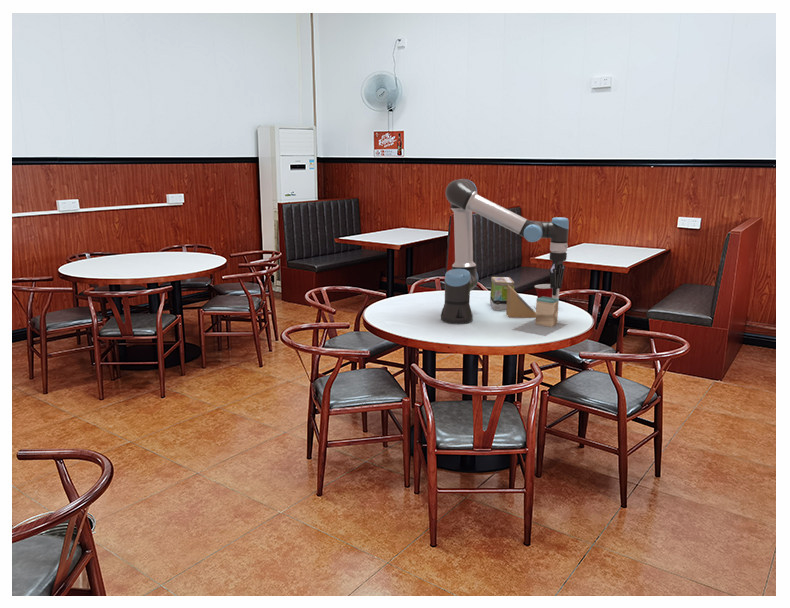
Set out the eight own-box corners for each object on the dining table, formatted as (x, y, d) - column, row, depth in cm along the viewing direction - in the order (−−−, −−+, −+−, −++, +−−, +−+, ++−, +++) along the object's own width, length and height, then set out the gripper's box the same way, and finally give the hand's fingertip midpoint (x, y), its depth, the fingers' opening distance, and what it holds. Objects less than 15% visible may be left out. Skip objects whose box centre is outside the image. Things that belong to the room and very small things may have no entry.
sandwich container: (541, 318, 296) (543, 288, 292) (509, 318, 296) (510, 287, 292) (537, 314, 304) (539, 284, 300) (506, 314, 304) (507, 284, 301)
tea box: (513, 311, 310) (514, 282, 307) (493, 310, 310) (494, 281, 307) (508, 304, 325) (510, 276, 321) (489, 303, 325) (490, 276, 321)
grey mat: (545, 336, 265) (545, 335, 265) (511, 330, 275) (511, 329, 275) (568, 325, 284) (568, 324, 284) (535, 319, 293) (535, 318, 293)
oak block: (551, 327, 279) (553, 301, 276) (535, 324, 284) (536, 298, 281) (557, 324, 284) (558, 298, 281) (540, 321, 288) (542, 296, 286)
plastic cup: (536, 304, 323) (537, 282, 320) (557, 307, 318) (558, 284, 316) (530, 309, 313) (532, 286, 311) (552, 311, 309) (554, 288, 306)
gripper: (560, 254, 276) (556, 305, 281) (571, 250, 286) (568, 300, 291) (544, 252, 280) (541, 303, 286) (556, 249, 290) (553, 298, 296)
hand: (555, 302), depth 288 cm, fingers closed
